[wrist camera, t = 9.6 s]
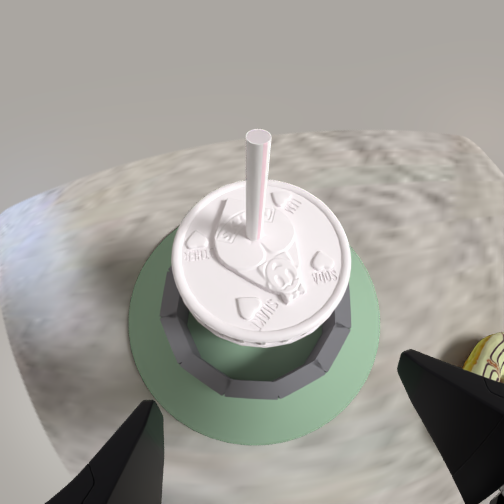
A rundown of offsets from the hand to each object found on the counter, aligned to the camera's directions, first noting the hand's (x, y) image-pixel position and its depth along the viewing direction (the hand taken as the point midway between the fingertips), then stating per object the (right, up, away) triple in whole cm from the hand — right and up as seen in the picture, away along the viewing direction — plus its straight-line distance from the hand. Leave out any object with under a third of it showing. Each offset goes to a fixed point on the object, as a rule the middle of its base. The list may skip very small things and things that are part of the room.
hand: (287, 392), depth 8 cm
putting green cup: (-1, 0, +10) cm, 10 cm away
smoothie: (-1, +1, +10) cm, 10 cm away
